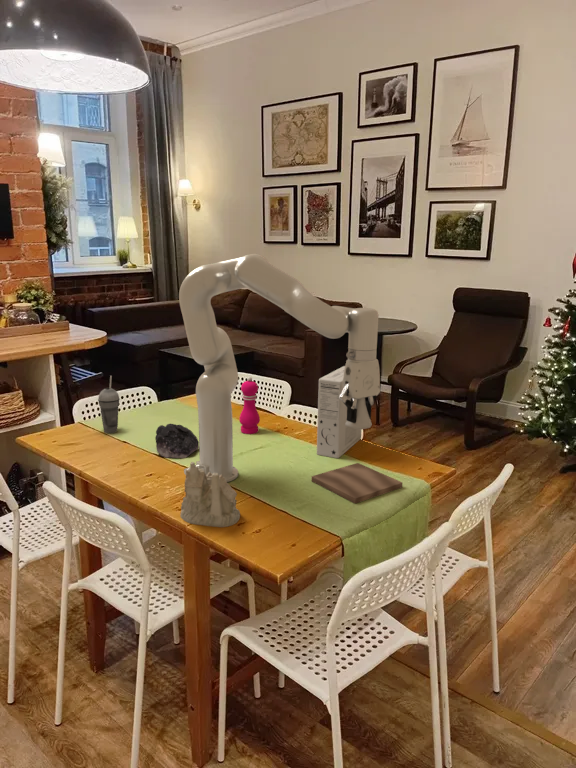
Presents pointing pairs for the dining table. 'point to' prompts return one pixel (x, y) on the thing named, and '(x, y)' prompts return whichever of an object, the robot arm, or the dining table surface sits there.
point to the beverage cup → (109, 408)
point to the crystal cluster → (175, 441)
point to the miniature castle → (208, 499)
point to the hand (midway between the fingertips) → (358, 419)
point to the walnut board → (356, 482)
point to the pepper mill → (249, 407)
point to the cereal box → (333, 418)
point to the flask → (360, 416)
